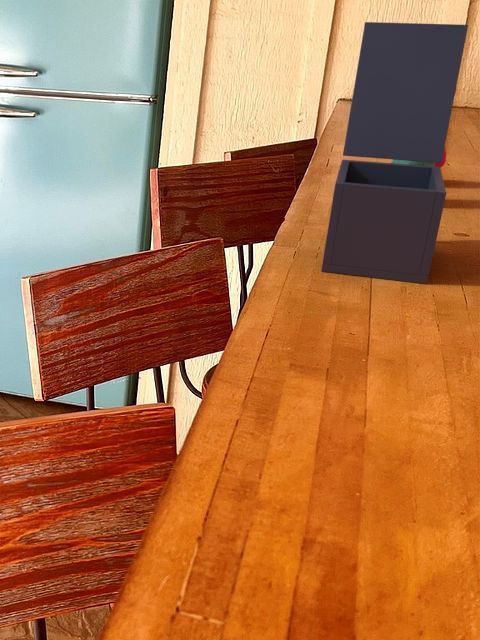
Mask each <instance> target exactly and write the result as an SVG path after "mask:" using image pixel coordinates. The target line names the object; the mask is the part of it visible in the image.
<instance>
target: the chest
mask: <svg viewBox="0 0 480 640" xmlns="http://www.w3.org/2000/svg"><path fill="white" fill-rule="evenodd" d="M441 168H442V167H441ZM441 168H440V167H433V166H420V165H407V164H395V163H391V162H382V161H381V162H380V161H366V160H355V159H341V162H340V166H339V170H338V173H337V177H336V180H335V184H334V188H333V195H332V201H331V207H330V214H329V220H328V226H327V232H326V239H325V245H324V250H323V251H324V252H323V258H322V263H321V269H320V270H321V271H320V272H323V273H329V274H330V273H331V274H338V275H348V276H356V277H363V278H373V279H381V280H390V281H397V282H406V283H414V284H423V285H427V284H428V281H429V275H430V272H431V267H432V262H433V258H434V253H435V249H436V244H437V239H438V234H439V230H440V225H441V222H442V221H441V220H442V217H443V211H444V206H445V202H446V197H447V190H446V189H447V188H446V185H445V181H444V178H443V172H442V169H441Z"/></svg>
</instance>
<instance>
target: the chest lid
mask: <svg viewBox="0 0 480 640" xmlns="http://www.w3.org/2000/svg"><path fill="white" fill-rule="evenodd" d="M363 25H364V26H363V32H362V37H361V43H360V44H361V45H360V50H359V56H358V61H357V68H356V74H355V80H354V84H353V85H354V87H353V92H352V97H351V98H352V99H351V103H350V110H349V115H348V121H347V127H346V134H345V141H344V146H343V152H342V156H343V157H354V158H355V157H357V158H366V159H367V158H368V159H381V160H393V159H394V160H407V161H420V162H433V163H441V162H442V157H443V152H444V147H445V148H446V141H447V136H448V132H449V126H450V122H451V115H452V111H453V106H454V101H455V96H456V93H455V91H456V92H457V84H458V79H459V74H460V70H461V64H462V59H463V55H464V49H465V44H466V38H467V34H468V28H469V24H453V23H452V24H451V23H447V24H446V23H420V22H419V23H417V22H415V23H411V22H381V21H380V22H378V21H377V22H376V21H365V22H364V24H363Z"/></svg>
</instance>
